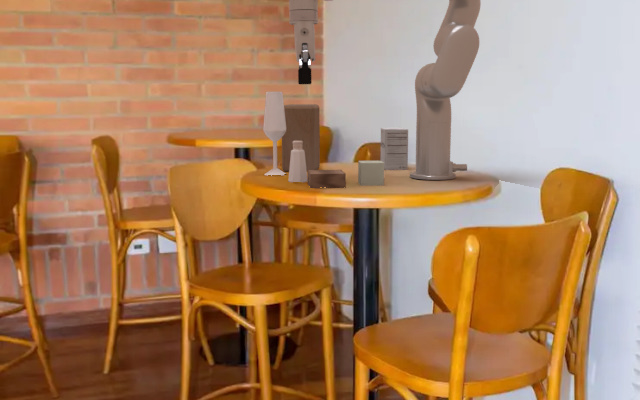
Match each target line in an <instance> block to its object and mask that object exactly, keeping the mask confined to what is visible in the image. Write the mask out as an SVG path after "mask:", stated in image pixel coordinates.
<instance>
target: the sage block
mask: <svg viewBox="0 0 640 400" xmlns="http://www.w3.org/2000/svg"><path fill="white" fill-rule="evenodd" d="M357 168H358V171H357V172H358V174H357V175H358V176H357V178H358V181H357V183H358V185H360V186H361V187H364V186H365V187H370V186H371V187H373V186H375V187H376V186H379V187H380V186H381V187H382V186H385V169H384V162H382V161H380V160H358V165H357Z"/></svg>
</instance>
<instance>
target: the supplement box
mask: <svg viewBox="0 0 640 400" xmlns="http://www.w3.org/2000/svg"><path fill="white" fill-rule="evenodd" d="M408 156H409V129H408V128H405V127H400V126H399V127H380V160H379V161H382V162H384V171H395V170H396V171H398V170H399V171H405V170H408V168H409V165H408V164H409V163H408V162H409V159H408Z"/></svg>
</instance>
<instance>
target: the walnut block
mask: <svg viewBox="0 0 640 400" xmlns="http://www.w3.org/2000/svg"><path fill="white" fill-rule="evenodd" d="M346 175H347V174H346V172H344V170H342V169H316V170H308V172H307V180H308V181H307V185H308V187H309V186H310V187H309V189H310V188H315V189H346V188H347V186H346V183H347V182H346V181H347V177H346ZM320 187H322V188H320ZM324 187H326V188H324ZM344 187H345V188H344Z"/></svg>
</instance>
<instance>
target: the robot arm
mask: <svg viewBox="0 0 640 400" xmlns="http://www.w3.org/2000/svg"><path fill="white" fill-rule="evenodd" d="M318 1H319V0H288V10H289V11H288V12H289V13H288V14H289V15H288V19H289V22H288V23H289V25H291V26H293V33H294V52H295V59H296V62H298V69H297V77H298V78H297V80H298V81H297V83H298V85H312V68H311V62H312V63H314V62H315V61H316V34H315V33H316V32H315V31H316V30H315V25H318V24H319V5H318V4H319V3H318ZM323 2H333V0H323ZM480 11H481V0H449V1H448V5H447V8H446V13H445V15H444V18H443V20H442V22H441V24H440V25H439V26H440V27H439V29H438V31H437V33H436V35H435V38H434V41H433V52H434V53H435V55H436V57H437V58H436V61H435V62H431V63H428V64H425V65H424V66H422V67H421V68H420V69H419V70H418V72H417V74H416V76H415V80H414V91H415V92H414V93H415V100H416V126H415V127H416V130H415V131H416V132H415V134H416V135H415V136H416V137H415V171H411V172H410V173H409V177H410V178H412V179H415V180H429V181H439V180H440V181H443V180H452V179H455V178H456V172H458V171H460V172H467V171H468V164H466V163H456V162H455V163H454V162H453V161H451V144H452V143H451V140H452V139H451V137H452V135H451V133H452V103H451V98H453V97H455V96H456V95H458V94H459V93H460V92H461V90H462V88H463V87H464V85H465V84H466V81H467V79H468V76H469V74H470V72H471V69H472V66H473V65H474V62H475V60H476V58H477V54H478V52H479V48H480V36H479V33H478V32H477V30H476V28H475V25H476V23H477V20H478V17H479V14H480Z"/></svg>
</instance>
